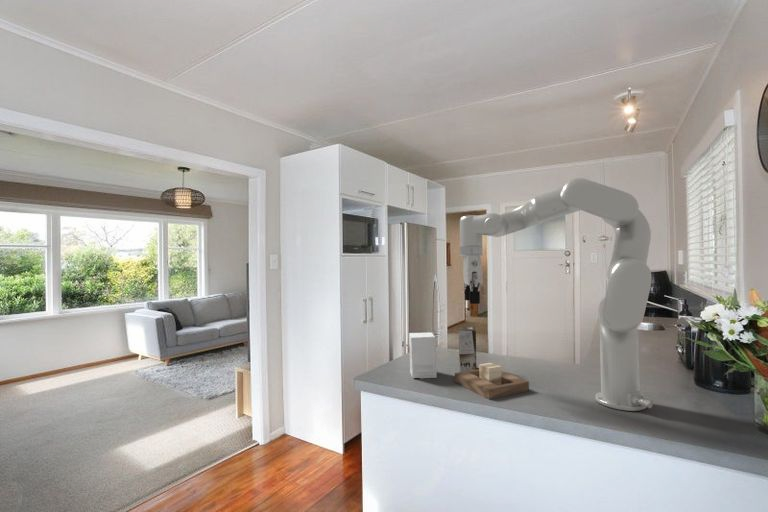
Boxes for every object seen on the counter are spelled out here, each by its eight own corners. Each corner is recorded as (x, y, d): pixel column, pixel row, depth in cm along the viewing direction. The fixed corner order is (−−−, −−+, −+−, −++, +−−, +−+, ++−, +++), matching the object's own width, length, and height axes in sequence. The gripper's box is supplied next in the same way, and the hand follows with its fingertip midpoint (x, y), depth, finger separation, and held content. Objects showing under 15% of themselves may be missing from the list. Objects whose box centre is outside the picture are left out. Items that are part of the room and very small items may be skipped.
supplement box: (433, 370, 143) (432, 331, 143) (437, 378, 134) (436, 336, 134) (409, 371, 143) (408, 332, 143) (411, 379, 134) (411, 337, 134)
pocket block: (529, 390, 120) (528, 381, 120) (488, 399, 113) (488, 389, 113) (491, 375, 136) (491, 367, 136) (454, 381, 130) (454, 373, 130)
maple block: (501, 387, 124) (501, 366, 124) (489, 389, 122) (488, 368, 122) (491, 383, 128) (491, 362, 128) (479, 385, 126) (479, 364, 126)
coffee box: (477, 374, 138) (476, 330, 138) (459, 373, 139) (458, 330, 139) (476, 367, 147) (475, 326, 147) (459, 366, 148) (458, 325, 148)
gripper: (488, 251, 119) (488, 305, 119) (477, 252, 136) (477, 299, 136) (464, 251, 119) (465, 305, 119) (456, 252, 137) (457, 299, 137)
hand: (471, 301), depth 128 cm, fingers open, 9 cm apart
